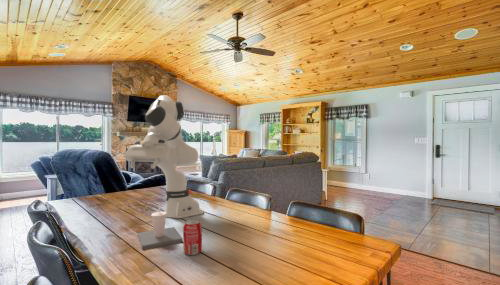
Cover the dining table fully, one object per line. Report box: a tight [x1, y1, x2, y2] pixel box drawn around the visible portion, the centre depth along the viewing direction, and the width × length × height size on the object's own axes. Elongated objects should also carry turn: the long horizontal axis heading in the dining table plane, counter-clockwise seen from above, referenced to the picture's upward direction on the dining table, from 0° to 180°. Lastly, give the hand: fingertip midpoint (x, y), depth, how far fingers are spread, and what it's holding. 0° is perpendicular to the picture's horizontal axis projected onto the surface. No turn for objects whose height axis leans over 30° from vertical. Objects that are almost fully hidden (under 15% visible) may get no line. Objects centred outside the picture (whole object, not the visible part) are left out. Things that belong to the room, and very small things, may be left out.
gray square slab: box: [137, 226, 183, 250], centre depth 113 cm, size 16×16×2 cm
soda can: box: [182, 218, 203, 256], centre depth 100 cm, size 7×7×12 cm
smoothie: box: [150, 203, 167, 237], centre depth 113 cm, size 6×6×14 cm
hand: (142, 167), depth 117 cm, fingers open, 8 cm apart
